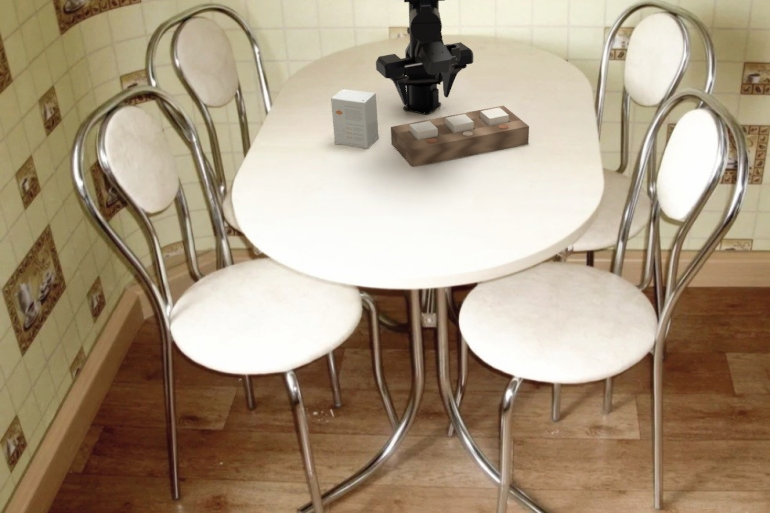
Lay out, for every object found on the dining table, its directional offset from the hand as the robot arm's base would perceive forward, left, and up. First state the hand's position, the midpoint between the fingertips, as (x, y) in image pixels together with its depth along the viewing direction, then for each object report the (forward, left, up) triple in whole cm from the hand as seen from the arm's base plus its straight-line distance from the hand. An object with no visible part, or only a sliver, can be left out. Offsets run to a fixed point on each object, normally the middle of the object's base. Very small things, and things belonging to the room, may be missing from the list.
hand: (425, 100), depth 192 cm
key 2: (+9, +12, -9) cm, 18 cm away
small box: (-16, -3, -11) cm, 19 cm away
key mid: (+4, +6, -9) cm, 11 cm away
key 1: (0, 0, -9) cm, 9 cm away
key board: (+4, +6, -11) cm, 13 cm away
